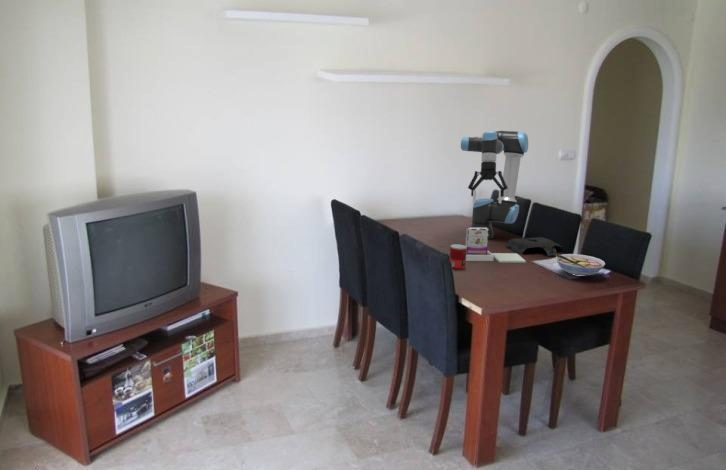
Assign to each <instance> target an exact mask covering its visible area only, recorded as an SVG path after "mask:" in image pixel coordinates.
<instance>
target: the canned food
mask: <svg viewBox="0 0 726 470" xmlns="http://www.w3.org/2000/svg"><path fill="white" fill-rule="evenodd" d="M449 250H450V251H449V259H450V258H451V262H452V266H453V269H452V270H464V269H465V268H466V263H467V261H466V251H467V247H466V246H465V245H463V244H460V243H459V244H456V243H455V244H450V248H449Z"/></svg>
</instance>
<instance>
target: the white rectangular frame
mask: <svg viewBox="0 0 726 470" xmlns="http://www.w3.org/2000/svg"><path fill="white" fill-rule="evenodd" d="M492 253H493V252H490V250H489V249H487V255H466V262H477V261H478V262H493V261H494V259H495V258H494V255H493V254H492Z"/></svg>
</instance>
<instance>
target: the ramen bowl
mask: <svg viewBox="0 0 726 470" xmlns="http://www.w3.org/2000/svg"><path fill="white" fill-rule="evenodd" d="M551 254H553V255H555V256H554V257H555V260H556V262H557V264H558V265H559V267H560V268H561V270H563V271H565V272H566V273H568V274H570V273H571V274H575V275H588V276H591V275H592V276H593V275H595V274H597V273H598V272H600V271H601V270H602V269H603V268H605V265H606V263H605V261H604V260H602V259H601V258H599V257H598V258H597V257H595V256H591V255H585V254H576V253H566V254H565V253H564V254H559V253H555V252H554V253H551ZM553 255H552V256H553ZM571 274H570V275H571Z"/></svg>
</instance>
